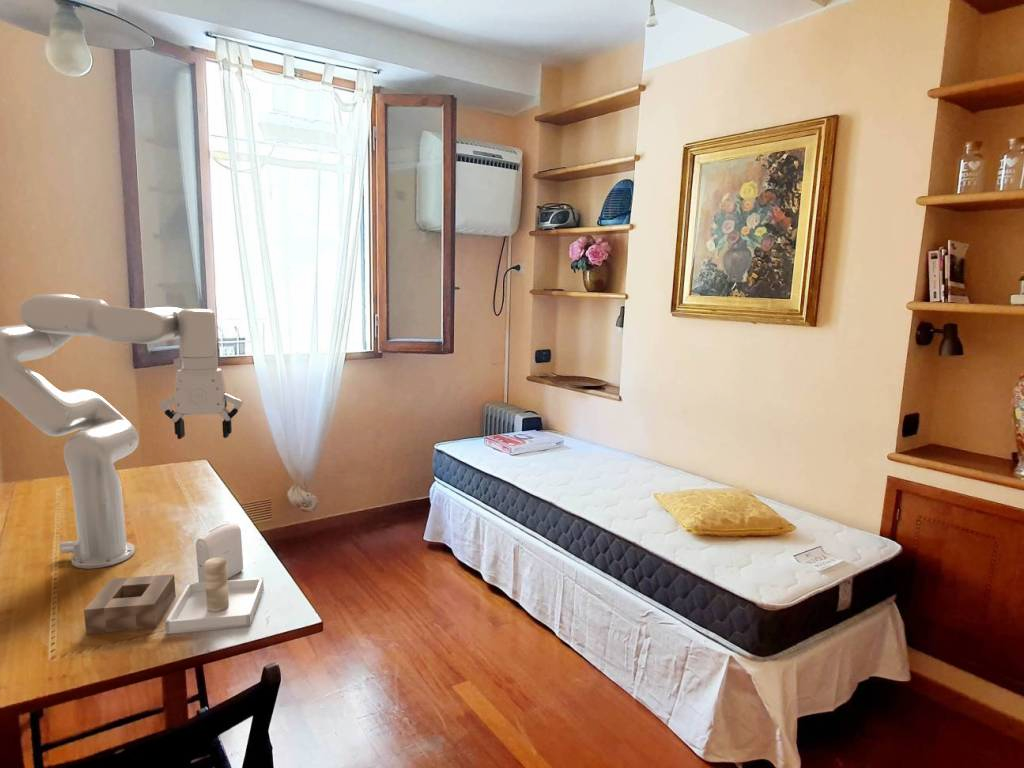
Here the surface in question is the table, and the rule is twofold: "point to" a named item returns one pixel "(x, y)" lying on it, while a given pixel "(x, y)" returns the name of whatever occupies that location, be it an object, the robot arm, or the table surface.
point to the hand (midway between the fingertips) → (204, 437)
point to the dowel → (216, 584)
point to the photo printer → (220, 548)
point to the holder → (130, 604)
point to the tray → (196, 617)
